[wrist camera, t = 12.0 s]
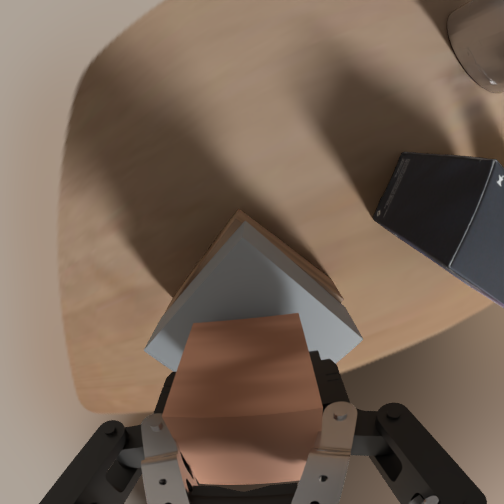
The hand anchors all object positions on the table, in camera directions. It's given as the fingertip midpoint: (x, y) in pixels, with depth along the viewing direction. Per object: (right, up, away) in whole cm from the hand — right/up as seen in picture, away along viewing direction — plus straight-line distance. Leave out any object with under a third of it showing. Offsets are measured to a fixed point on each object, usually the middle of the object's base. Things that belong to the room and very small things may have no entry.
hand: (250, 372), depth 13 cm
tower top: (0, +2, +6) cm, 6 cm away
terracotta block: (0, 0, +1) cm, 1 cm away
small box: (+15, +9, +8) cm, 19 cm away
